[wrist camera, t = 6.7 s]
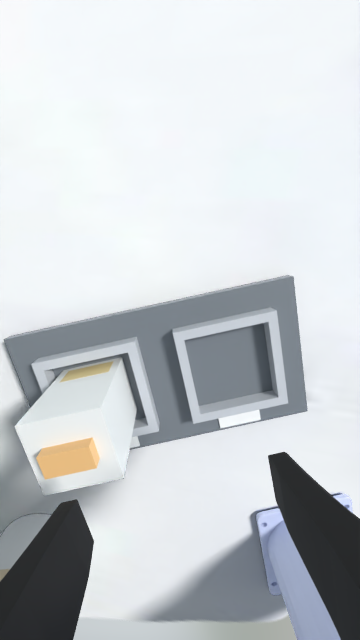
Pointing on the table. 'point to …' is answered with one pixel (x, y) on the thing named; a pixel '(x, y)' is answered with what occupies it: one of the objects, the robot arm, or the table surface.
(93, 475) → the plug
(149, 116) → the table surface
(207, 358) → the panel
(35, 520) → the coffee cup
